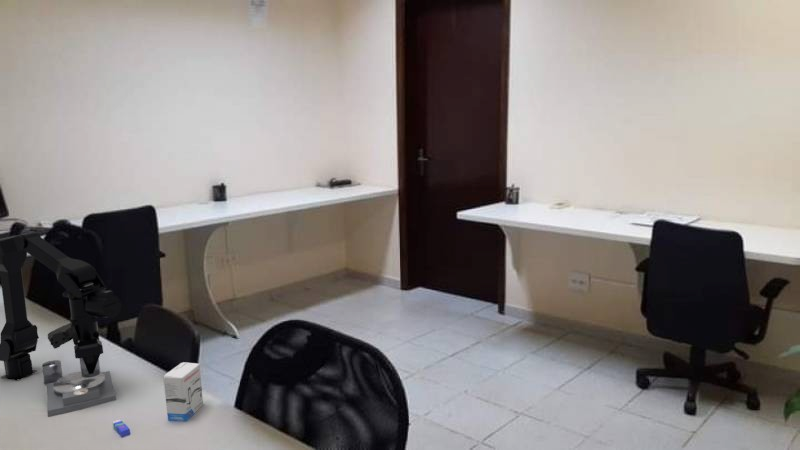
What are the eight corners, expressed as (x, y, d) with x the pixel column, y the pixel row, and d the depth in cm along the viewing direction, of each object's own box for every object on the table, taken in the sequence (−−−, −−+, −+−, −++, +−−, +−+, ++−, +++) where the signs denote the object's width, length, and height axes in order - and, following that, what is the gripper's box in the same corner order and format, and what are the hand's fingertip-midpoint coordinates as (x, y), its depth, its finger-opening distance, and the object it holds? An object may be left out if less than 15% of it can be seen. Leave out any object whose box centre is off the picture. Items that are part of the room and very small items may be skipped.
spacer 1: (40, 383, 166) (38, 365, 165) (53, 376, 170) (51, 359, 169) (53, 385, 165) (51, 367, 164) (66, 378, 169) (64, 361, 168)
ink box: (186, 425, 143) (181, 378, 141) (166, 423, 144) (162, 376, 142) (204, 407, 152) (200, 362, 149) (186, 405, 153) (182, 361, 150)
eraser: (122, 426, 144) (121, 418, 143) (130, 436, 139) (129, 428, 139) (113, 429, 142) (112, 421, 142) (121, 439, 138) (120, 431, 138)
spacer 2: (91, 369, 164) (88, 351, 163) (104, 371, 163) (102, 353, 162) (77, 376, 160) (75, 358, 159) (91, 378, 159) (88, 360, 158)
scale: (47, 389, 163) (45, 375, 162) (110, 375, 170) (108, 363, 169) (48, 416, 148) (46, 402, 148) (116, 401, 156) (114, 387, 155)
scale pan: (53, 382, 163) (52, 377, 162) (103, 371, 169) (102, 366, 168) (54, 400, 153) (53, 395, 152) (107, 388, 158) (106, 383, 158)
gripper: (47, 308, 162) (54, 364, 165) (47, 330, 146) (56, 391, 149) (94, 301, 168) (100, 355, 171) (99, 322, 152) (106, 381, 155)
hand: (90, 370), depth 161 cm, fingers closed on spacer 2, 4 cm apart
